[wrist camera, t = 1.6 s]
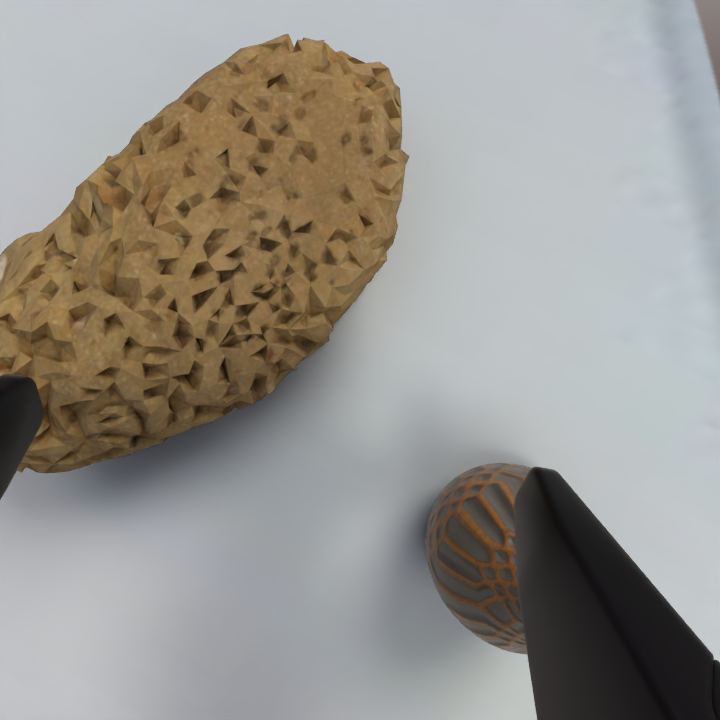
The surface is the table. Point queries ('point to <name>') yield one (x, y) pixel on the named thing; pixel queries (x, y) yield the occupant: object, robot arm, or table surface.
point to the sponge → (205, 252)
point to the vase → (479, 552)
